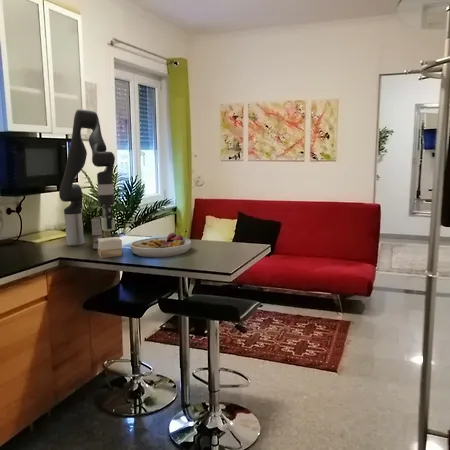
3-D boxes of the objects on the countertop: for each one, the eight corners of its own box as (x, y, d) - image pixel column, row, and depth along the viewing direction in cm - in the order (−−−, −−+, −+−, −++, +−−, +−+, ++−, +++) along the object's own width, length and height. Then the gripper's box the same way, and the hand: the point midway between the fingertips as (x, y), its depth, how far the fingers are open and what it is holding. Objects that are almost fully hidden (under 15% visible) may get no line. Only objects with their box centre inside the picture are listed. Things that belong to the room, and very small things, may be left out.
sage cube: (101, 229, 228) (101, 218, 227) (113, 228, 230) (112, 217, 229) (103, 230, 223) (102, 219, 222) (115, 229, 225) (114, 218, 224)
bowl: (174, 260, 212) (174, 243, 211) (118, 257, 223) (117, 241, 221) (200, 247, 240) (200, 232, 239) (149, 245, 250) (149, 231, 249)
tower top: (98, 246, 230) (97, 238, 230) (118, 244, 234) (118, 236, 233) (101, 250, 221) (100, 241, 220) (122, 248, 225) (121, 239, 224)
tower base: (98, 254, 230) (97, 246, 230) (118, 252, 234) (117, 244, 234) (100, 258, 221) (100, 250, 221) (122, 256, 225) (121, 248, 224)
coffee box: (104, 248, 243) (102, 218, 240) (92, 248, 244) (90, 218, 242) (111, 245, 252) (109, 216, 249) (100, 245, 253) (98, 216, 251)
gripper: (116, 194, 219) (119, 229, 221) (111, 192, 232) (113, 225, 234) (100, 195, 216) (103, 230, 218) (95, 193, 229) (98, 227, 231)
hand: (108, 228), depth 226 cm, fingers closed on sage cube, 5 cm apart
